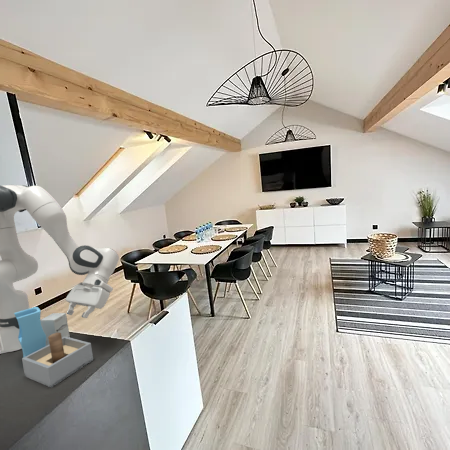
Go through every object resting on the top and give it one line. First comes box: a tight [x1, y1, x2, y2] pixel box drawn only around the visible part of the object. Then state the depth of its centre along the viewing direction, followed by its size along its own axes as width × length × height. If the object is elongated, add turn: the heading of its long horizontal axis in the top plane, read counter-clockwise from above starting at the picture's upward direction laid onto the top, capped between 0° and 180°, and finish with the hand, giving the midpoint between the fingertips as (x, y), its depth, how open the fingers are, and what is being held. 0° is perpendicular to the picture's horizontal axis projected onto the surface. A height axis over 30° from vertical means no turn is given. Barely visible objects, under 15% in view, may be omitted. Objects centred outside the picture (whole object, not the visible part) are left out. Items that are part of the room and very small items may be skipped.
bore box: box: [21, 336, 94, 389], centre depth 102 cm, size 16×16×7 cm
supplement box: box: [40, 312, 71, 346], centre depth 121 cm, size 7×7×13 cm
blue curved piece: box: [14, 306, 46, 358], centre depth 109 cm, size 8×8×20 cm
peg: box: [48, 333, 65, 363], centre depth 102 cm, size 4×4×12 cm
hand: (76, 316), depth 109 cm, fingers open, 8 cm apart
